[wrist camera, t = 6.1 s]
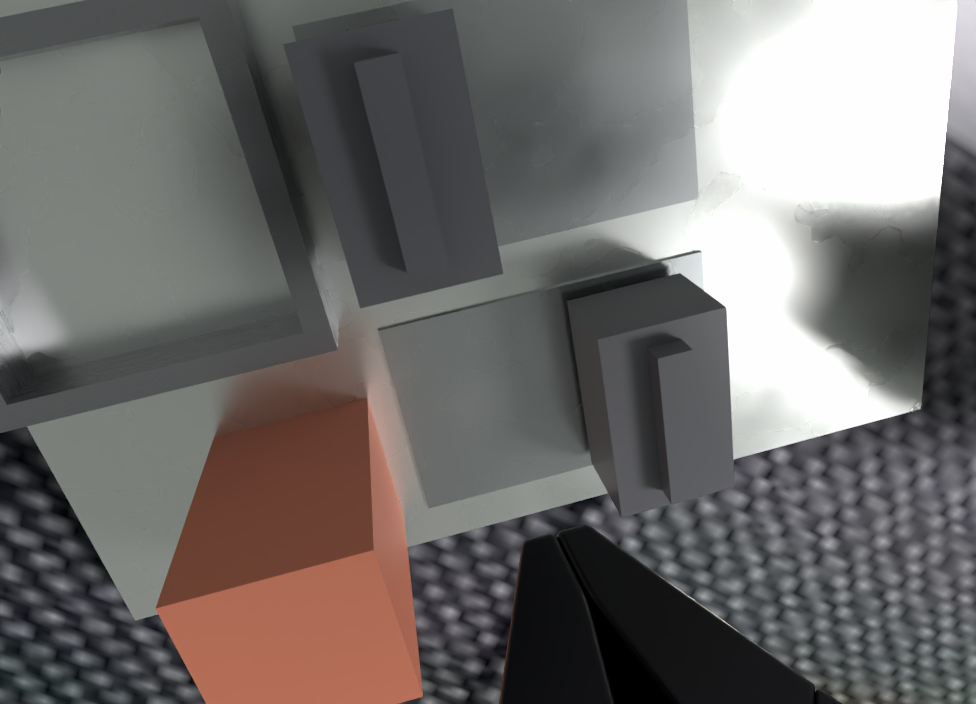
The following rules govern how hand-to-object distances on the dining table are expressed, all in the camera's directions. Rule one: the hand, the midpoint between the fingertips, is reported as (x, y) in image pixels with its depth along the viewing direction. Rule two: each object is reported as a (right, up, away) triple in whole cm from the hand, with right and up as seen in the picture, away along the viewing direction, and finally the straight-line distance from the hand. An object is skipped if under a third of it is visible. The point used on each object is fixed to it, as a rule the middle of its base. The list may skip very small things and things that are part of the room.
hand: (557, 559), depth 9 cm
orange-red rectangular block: (-6, -1, +10) cm, 12 cm away
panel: (-1, +6, +10) cm, 11 cm away
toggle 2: (+3, +2, +10) cm, 11 cm away
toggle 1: (-3, +7, +7) cm, 10 cm away
